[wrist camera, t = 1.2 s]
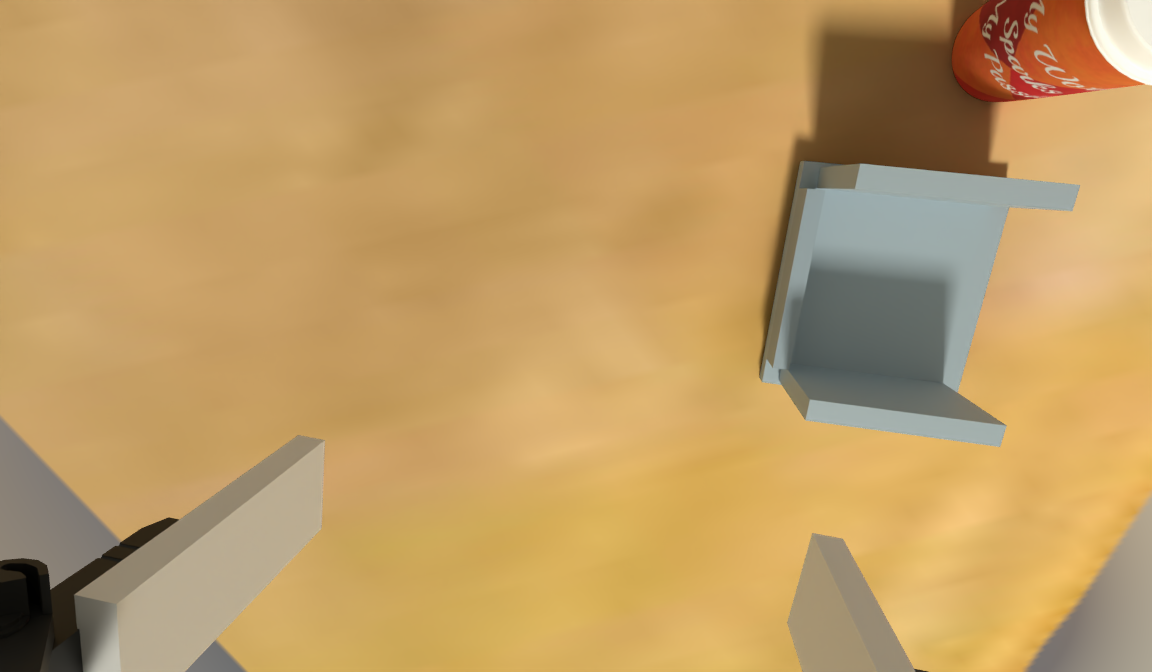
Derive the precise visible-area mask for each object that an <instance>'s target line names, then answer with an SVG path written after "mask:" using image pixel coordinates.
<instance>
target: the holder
mask: <svg viewBox="0 0 1152 672" xmlns="http://www.w3.org/2000/svg"><path fill="white" fill-rule="evenodd" d="M1079 188H1080V185H1074V184H1064V183H1054V182H1043V181H1033V180H1023V179H1013V178H1003V177H992V176H982V175H972V174H962V173H952V172H942V171H931V170H921V169H911V168H901V167H891V166H881V165H870V164H851V165H842V164H831V163H821V162H811V161H800V165H799V171H798V176H797V181H796V187H795V192H794V197H793V202H792V208H791V213H790V218H789V224H788V229H787V234H786V239H785V245H784V250H783V255H782V261H781V266H780V271H779V277H778V282H777V287H776V292H775V298H774V303H773V308H772V314H771V319H770V324H769V329H768V335H767V340H766V345H765V351H764V356H763V361H762V367H761V372H760V377H759V378H760V379H761V381H762V382H765V383H772V384H780V385H782V386H783V387H784V389H785V390H786V392H787V393H788V395H789V396H790V398H791V399H792V401H793V402H794V404H795V405H796V407H797V408H798V410H799V411H800V413H801V414H802V416H803V417H804V419H805V420H807V421H814V422H821V423H829V424H836V425H843V426H851V427H858V428H865V429H873V430H880V431H887V432H895V433H902V434H909V435H917V436H924V437H931V438H939V439H946V440H953V441H961V442H968V443H975V444H983V445H990V446H997V447H1000V445H1001V442H1002V439H1003V436H1004V432H1005V429H1006V425H1005V424H1003V423H1002V422H1000V421H999V420H997V419H996V418H994V417H993V416H991V415H990V414H988V413H987V412H985V411H984V410H982V409H981V408H979V407H978V406H976V405H975V404H973V403H972V402H970V401H969V400H967V399H966V398H964V397H963V396H961V395H960V394H959V393H957V392H958V389H959V385H960V381H961V378H962V374H963V371H964V367H965V364H966V360H967V356H968V353H969V349H970V346H971V342H972V339H973V335H974V331H975V328H976V324H977V321H978V317H979V313H980V310H981V306H982V303H983V299H984V296H985V292H986V288H987V285H988V281H989V278H990V274H991V271H992V267H993V263H994V260H995V256H996V253H997V249H998V246H999V242H1000V238H1001V235H1002V231H1003V228H1004V224H1005V220H1006V217H1007V213H1008V210H1009V207H1012V208H1029V209H1045V210H1062V211H1072V210H1073V207H1074V204H1075V201H1076V197H1077V194H1078V191H1079Z"/></svg>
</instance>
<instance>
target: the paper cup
mask: <svg viewBox="0 0 1152 672" xmlns="http://www.w3.org/2000/svg"><path fill="white" fill-rule="evenodd" d="M952 68H953V72H954V75H955V78H956V80H957V81H958V83H959V85H960V86H961V87H962V88H963V89H964V90H965V91H966V92H967V93H968V94H970V95H971V96H973V97H975V98H977V99H980V100H984V101H989V102H1008V101H1018V100H1027V99H1036V98H1044V97H1052V96H1060V95H1068V94H1075V93H1083V92H1091V91H1098V90H1106V89H1113V88H1121V87H1128V86H1136V85H1143V84H1147V85H1152V0H990V1H988V2H987V3H985V4H984V5H983V6H981V7H980V8H979V9H978V10H977V11H975V12H974V13H973V14H972V15H971V16H970V17H969V18H968V19H967V21H966V22H965V23H964V25H963V26H962V27H961V29H960V31H959V33H958V35H957V37H956V39H955V42H954V45H953V50H952Z"/></svg>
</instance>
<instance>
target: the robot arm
mask: <svg viewBox="0 0 1152 672" xmlns="http://www.w3.org/2000/svg"><path fill="white" fill-rule="evenodd" d="M324 450H325V440H321V439H316V438H310V437H305V436H300V435H298V436H296V437H295V438H294V439H292V440H291V441H289V442H288V443H287V444H285V445H284V446H282V447H281V448H280V449H278V450H277V451H275V452H274V453H273V454H271V455H270V456H268V457H267V458H266V459H264V460H263V461H261V462H260V463H259V464H257V465H256V466H254V467H253V468H251V469H250V470H249V471H247V472H246V473H244V474H243V475H242V476H240V477H239V478H237V479H236V480H235V481H233V482H232V483H230V484H229V485H228V486H226V487H225V488H223V489H222V490H221V491H219V492H218V493H216V494H215V495H214V496H212V497H211V498H209V499H208V500H207V501H205V502H204V503H202V504H201V505H200V506H198V507H197V508H195V509H194V510H192V511H191V512H190V513H188V514H187V515H185V516H184V517H183V518H181V519H180V520H179V519H174V518H166V519H164V520H161V521H159V522H156V523H154V524H151V525H149V526H146V527H144V528H141V529H140V530H138V531H137V532H135V533H134V534H132V535H131V536H129V537H128V538H127V539H125V540H124V541H122V542H121V543H120V545H119V546H115V547H113V548H112V549H110V550H109V551H107V552H106V553H104V554H103V555H102V557H101V558H97V559H95V560H94V561H93V562H91V563H90V564H88V565H87V566H85V567H84V568H82V569H81V570H79V571H78V572H76V573H75V574H73V575H72V576H70V577H69V578H67V579H66V580H64V581H63V582H61V583H60V584H58V585H57V586H55V587H54V588H52V589H51V590H50V582H49V574H48V568H47V565H45V564H44V563H42V562H40V561H39V560H32V559H24V558H21V559H11V560H3V561H0V672H185V671H186V670H187V669H188V668H189V666H191V665H192V664H193V663H194V661H195V660H196V659H197V658H198V657H199V656H200V655H201V654H202V653H203V652H204V651H205V650H206V649H207V648H208V647H209V646H210V645H211V644H212V642H214V641H215V639H216V638H217V637H218V636H219V635H220V634H221V633H222V632H223V631H224V630H225V629H226V628H227V627H228V626H229V625H230V624H231V623H232V622H233V621H234V620H235V619H236V617H237V616H238V615H239V614H240V613H241V612H242V611H243V610H244V609H245V608H246V607H247V606H248V605H249V604H250V603H251V602H252V601H253V600H254V599H255V598H256V597H257V595H258V594H259V593H260V592H261V591H262V590H263V589H264V588H265V587H266V586H267V585H268V584H269V583H270V582H271V581H272V580H273V579H274V578H275V577H276V576H277V575H278V574H279V572H280V571H281V570H282V569H283V568H284V567H285V566H286V565H287V564H288V563H289V562H290V561H291V560H292V559H293V558H294V557H295V556H296V555H297V554H298V553H299V552H300V550H301V549H302V548H303V547H304V546H305V545H306V544H307V543H308V542H309V541H310V540H311V539H312V538H313V537H314V536H315V535H316V534H317V533H318V532H319V531H320V530H321V528H322V503H323V476H324ZM787 624H788V627H789V630H790V633H791V636H792V639H793V643H794V646H795V649H796V652H797V655H798V658H799V662H800V665H801V668H802V671H803V672H927V671H922V670H917V669H914V668H913V666H912V664H911V662H910V660H909V659H908V657H907V655H906V653H905V651H904V650H903V648H902V646H901V644H900V642H899V640H898V639H897V637H896V635H895V633H894V631H893V629H892V628H891V626H890V624H889V622H888V620H887V619H886V617H885V615H884V613H883V611H882V609H881V608H880V606H879V604H878V602H877V600H876V598H875V597H874V595H873V593H872V591H871V589H870V588H869V586H868V584H867V582H866V580H865V578H864V577H863V575H862V573H861V571H860V569H859V567H858V566H857V564H856V562H855V560H854V558H853V557H852V555H851V553H850V551H849V549H848V547H847V546H846V544H845V542H844V540H843V539H841V538H836V537H830V536H825V535H820V534H815V533H812V536H811V540H810V543H809V547H808V551H807V554H806V558H805V561H804V565H803V568H802V572H801V575H800V579H799V583H798V586H797V590H796V593H795V597H794V600H793V604H792V608H791V611H790V615H789V618H788V622H787Z"/></svg>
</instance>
